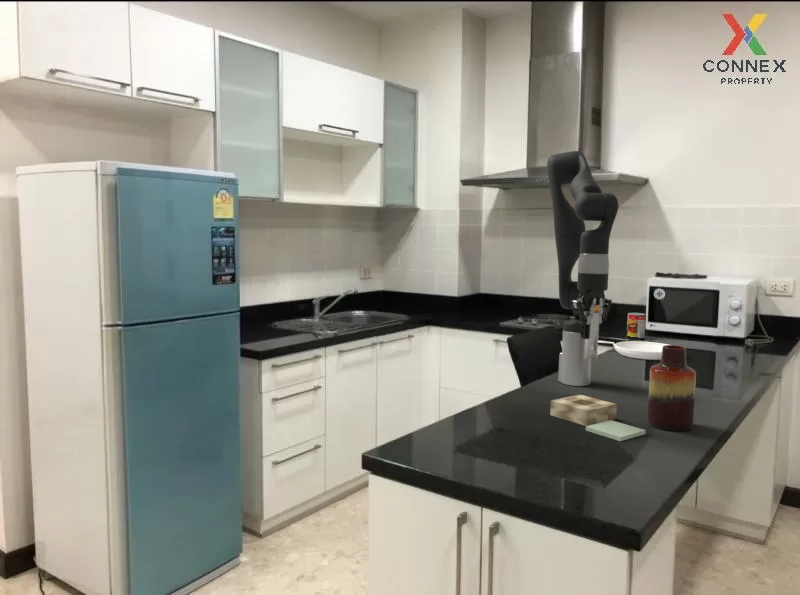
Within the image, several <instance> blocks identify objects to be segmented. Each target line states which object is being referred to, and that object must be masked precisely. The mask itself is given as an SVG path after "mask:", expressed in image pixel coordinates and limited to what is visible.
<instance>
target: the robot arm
mask: <svg viewBox="0 0 800 595" xmlns="http://www.w3.org/2000/svg"><path fill="white" fill-rule="evenodd" d="M546 165H547V169H546V170H547V177H548V183H549V188H550V189H549V190H550V194H551V195H550V196H551V201H552V202H551V203H552V210H553V225H554V226H553V228H554V239H555V245H556V246H555V248H556V256H557V265H558V298H559V303H560V306H561V307H562V309H565V310H571V311H572V314H573V318H571V319H569V320H568V319H567V320H564V322H563V325H562V344H561V345H562V348H561V349H562V350H561V352H559V357H558V379H557V380H558V382H560V383H561V384H563V385H568V386H573V387H575V386H576V387H584V386H589V385H591V372H592V371H591V369H592V360H590V359H585V358H584V350H585V339H589V335H590V325H589V324H590V320H591V316H592V315H593V309H594V305H600V312H599V330H598V339H599V338H600V332H601V331H600V330H601V328H600V327H601V324H603V322H606V321H607V319H608V318H607V317H608V315H609V312H610V309H611V306H612V303H613V300H612V299H609V298H606V295H605V292H606V291H607V290H608V287H609V269H610V268H609V267H610V261H609V250H610V249H609V248H610V237H611V233H612V228H613V226H614V223H615V221H616V217H617V214H618V211H619V201H618V198H617V197H616V196H615V194H614V193H609V192H603V191H602V189H601V187H600V186H599V185H598V183H597V182H596V181H595V180H594V177H593V173H592V170H591V169H590V165H589V163H588V161H587V158H586V155H585V154H584V153H583V152H581V151H579V150H572V151H566V152H562V153H561V152H560V153H556V154H552V155H550V156H549V157H548V158H547V162H546ZM569 184H570V187H569V190H570V194H571V196H572V198H573V200H574V201H575V204H574V207H573V206H572V204H571V203H570V202H569V201H568V200H567V198H566V197H565V194H564V192H563V190H562V186H565V185H569ZM585 221H586V222H587V221H589V222H590V221H592V222H595V221H596V222H600V223H599V225H598V226H597V227H596V228H595V229H594V228H593V229H589V230H586V224H585ZM577 261H578V262H577ZM576 263H578V264H577V281H573V280H572V272H573V269H574V267H575V265H576ZM586 311H589V312H586ZM586 315H587V316H586Z"/></svg>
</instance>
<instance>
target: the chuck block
mask: <svg viewBox="0 0 800 595" xmlns="http://www.w3.org/2000/svg"><path fill="white" fill-rule="evenodd" d="M617 406H618V403H614V402H610V401H606V400H602V399H599V398H594V397H592V396H587V395H583V394H576V395H571V396H567V397H566V396H565V397H561V398H556V399H551V400H550V411H549V412H550V413H549V415H550V416H552V417H555V418H558V419H561V420H564V421H569V422H571V423H575V424H579V425H581V426H585V427H586V426H589V425H593V424H597V423H601V422H605V421H609V420H612V421H615V420H617V409H618V407H617Z"/></svg>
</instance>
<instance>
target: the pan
mask: <svg viewBox="0 0 800 595" xmlns="http://www.w3.org/2000/svg"><path fill="white" fill-rule="evenodd" d="M599 343H600V344H612V345H613V348H614V349H615V351H616V352H617V353H618V354H619V355H621V356H624V357H626V358H631V359H636V360H645V361H661V356H662V348H663V346H665V345H670V344H667V343H661V342H656V341H655V342H653V341H643V340H626V341H619V342H616V343H615V342H614V341H607V340H598V344H599Z"/></svg>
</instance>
